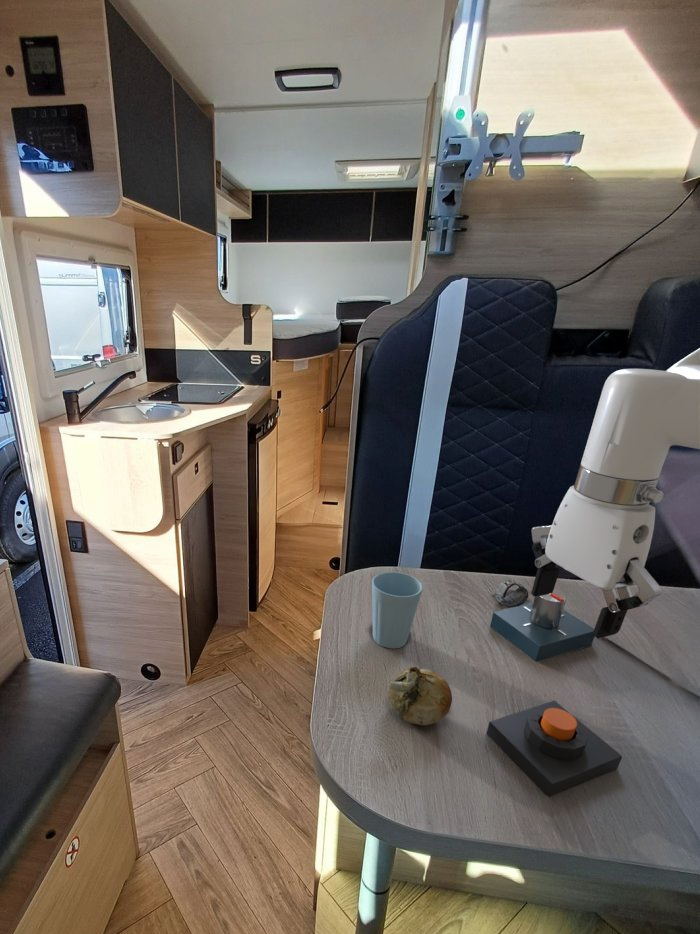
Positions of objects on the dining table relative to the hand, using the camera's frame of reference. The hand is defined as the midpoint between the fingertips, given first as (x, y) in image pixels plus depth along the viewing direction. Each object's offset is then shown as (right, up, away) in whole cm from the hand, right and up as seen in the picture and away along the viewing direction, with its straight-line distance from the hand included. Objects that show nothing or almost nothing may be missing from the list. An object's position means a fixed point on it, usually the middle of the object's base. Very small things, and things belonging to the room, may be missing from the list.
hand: (570, 613), depth 66 cm
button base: (-3, -17, -1) cm, 17 cm away
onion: (-19, -14, +4) cm, 24 cm away
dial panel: (+6, -6, +20) cm, 22 cm away
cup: (-19, -7, +19) cm, 28 cm away
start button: (-3, -14, -3) cm, 14 cm away
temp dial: (+6, -4, +19) cm, 20 cm away
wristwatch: (+5, -2, +30) cm, 31 cm away
